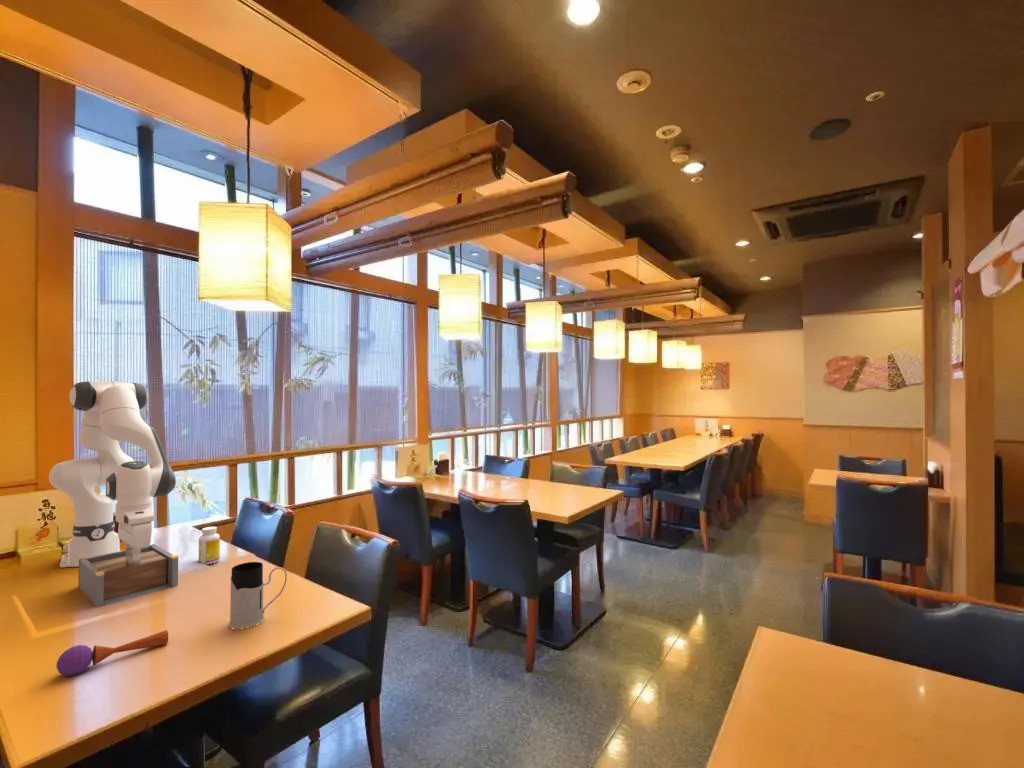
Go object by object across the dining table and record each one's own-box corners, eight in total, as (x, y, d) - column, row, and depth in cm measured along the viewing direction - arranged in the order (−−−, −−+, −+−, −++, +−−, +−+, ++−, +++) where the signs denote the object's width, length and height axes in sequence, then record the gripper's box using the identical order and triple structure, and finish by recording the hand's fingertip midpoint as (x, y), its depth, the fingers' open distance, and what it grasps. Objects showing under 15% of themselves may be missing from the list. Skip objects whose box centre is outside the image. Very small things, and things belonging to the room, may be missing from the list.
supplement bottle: (223, 560, 181) (224, 525, 181) (210, 566, 174) (211, 530, 175) (207, 559, 182) (207, 525, 182) (193, 565, 175) (194, 530, 175)
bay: (78, 591, 152) (78, 557, 152) (154, 572, 168) (154, 542, 168) (96, 611, 137) (97, 574, 138) (177, 589, 153) (178, 555, 153)
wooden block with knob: (90, 588, 150) (91, 547, 151) (152, 574, 163) (152, 535, 163) (101, 600, 142) (102, 556, 142) (165, 583, 154) (166, 543, 155)
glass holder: (231, 617, 133) (232, 563, 133) (287, 609, 138) (288, 557, 138) (225, 632, 125) (225, 574, 125) (285, 622, 130) (285, 567, 130)
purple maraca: (171, 631, 117) (60, 659, 102) (167, 655, 117) (56, 685, 102) (165, 619, 121) (57, 644, 106) (161, 642, 121) (53, 670, 106)
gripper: (112, 510, 154) (111, 554, 154) (130, 520, 142) (129, 567, 141) (136, 507, 159) (135, 549, 159) (156, 516, 147) (155, 561, 146)
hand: (133, 557), depth 150 cm, fingers closed on wooden block with knob, 4 cm apart
